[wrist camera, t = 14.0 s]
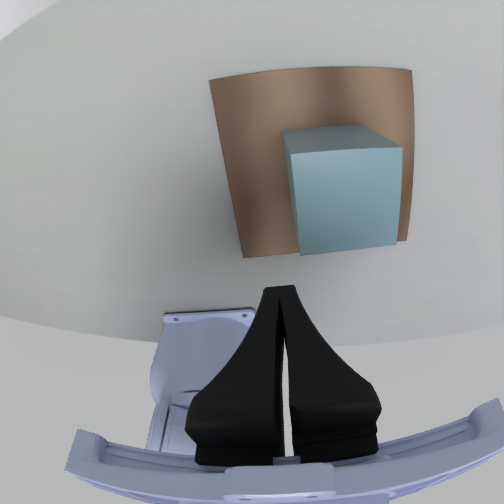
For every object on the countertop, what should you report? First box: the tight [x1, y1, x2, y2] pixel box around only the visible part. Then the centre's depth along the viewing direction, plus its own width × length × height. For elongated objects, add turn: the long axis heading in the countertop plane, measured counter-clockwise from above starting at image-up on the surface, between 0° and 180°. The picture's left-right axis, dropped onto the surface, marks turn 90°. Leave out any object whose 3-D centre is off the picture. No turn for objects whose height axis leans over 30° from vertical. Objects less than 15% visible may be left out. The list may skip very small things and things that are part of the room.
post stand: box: [209, 67, 414, 258], centre depth 17 cm, size 14×14×6 cm
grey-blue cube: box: [282, 125, 402, 256], centre depth 17 cm, size 6×6×7 cm
